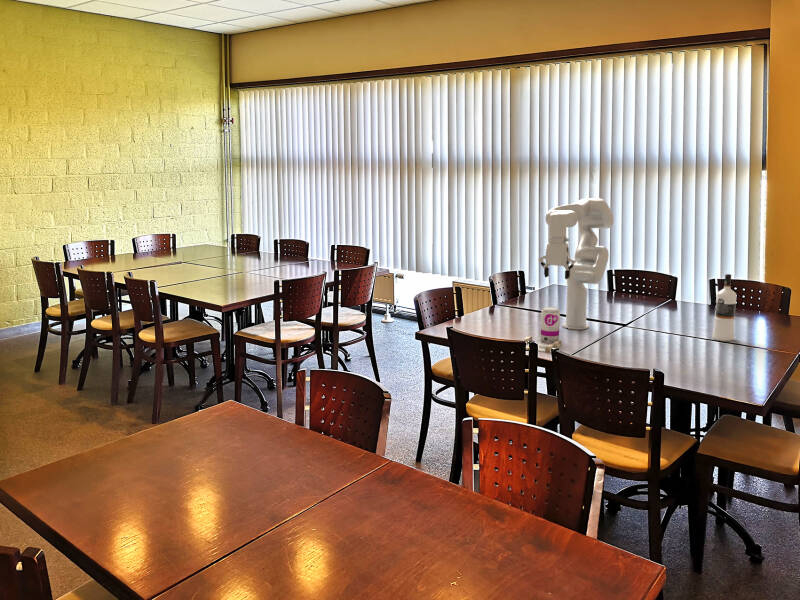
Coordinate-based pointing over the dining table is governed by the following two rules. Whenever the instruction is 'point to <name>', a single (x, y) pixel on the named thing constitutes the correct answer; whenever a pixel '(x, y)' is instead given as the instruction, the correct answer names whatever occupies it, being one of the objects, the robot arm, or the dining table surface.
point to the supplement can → (550, 324)
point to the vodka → (725, 312)
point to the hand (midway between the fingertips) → (556, 277)
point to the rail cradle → (544, 345)
